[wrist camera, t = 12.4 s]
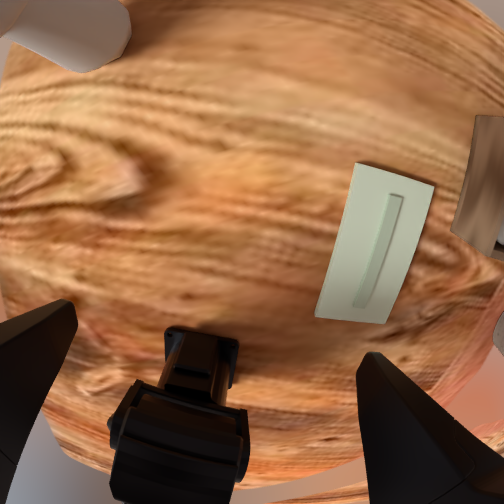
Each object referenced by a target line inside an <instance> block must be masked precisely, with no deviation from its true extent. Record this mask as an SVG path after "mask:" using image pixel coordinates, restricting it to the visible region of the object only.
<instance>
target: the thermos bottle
mask: <svg viewBox="0 0 504 504" xmlns="http://www.w3.org/2000/svg"><path fill="white" fill-rule="evenodd" d="M493 342H494V344H495V346H496V347H497V348H498V349H499V351H500V352H501V353H502V355H503V356H504V312H503V313H502V315H501V316H500V318H499V320H498V322H497V324H496V326H495V329H494V332H493Z"/></svg>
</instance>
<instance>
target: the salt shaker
mask: <svg viewBox="0 0 504 504" xmlns="http://www.w3.org/2000/svg"><path fill="white" fill-rule="evenodd" d="M2 36H3V37H5V38H8V39H10V40H12V41H14V42H16V43H18V44H20V45H22V46H24V47H26V48H28V49H30V50H31V51H33V52H35V53H37V54H39V55H41V56H43V57H45V58H47V59H48V60H50V61H52V62H54V63H56V64H58V65H59V66H61V67H63V68H65V69H67V70H70V71H74V72H78V73H86V72H89V71H92V70H96V69H99V68H101V67H102V66H104V65H106V64H107V63H109V62H111V61H113V60H115V59H117V58H119V57H121V55H122V53H123V51H124V49H125V47H126V45H127V44H128V42H129V40H130V38H131V36H132V31H131V23H130V18H129V12H128V10H127V9H126V8H125V7H124V6H123V5H122V4H121V3H120V2H119V1H118V0H0V38H1V37H2Z"/></svg>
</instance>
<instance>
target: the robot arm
mask: <svg viewBox="0 0 504 504" xmlns="http://www.w3.org/2000/svg"><path fill="white" fill-rule="evenodd" d="M77 328H78V320H77V316H76V311H75V306H74V304H73V302H72V301H69V300H66V299H59V300H57V301H54V302H52V303H49V304H47V305H44V306H42V307H39V308H36V309H34V310H31V311H29V312H26V313H24V314H22V315H19V316H17V317H14V318H12V319H9V320H7V321H4V322H2V323H0V504H5V503H6V500H7V496H8V492H9V489H10V486H11V483H12V480H13V477H14V474H15V471H16V468H17V466H16V465H18V462H19V459H20V456H21V454H22V451H23V449H24V446H25V444H26V441H27V439H28V436H29V434H30V431H31V429H32V427H33V425H34V422H35V420H36V418H37V415H38V413H39V411H40V409H41V407H42V405H43V403H44V400H45V398H46V396H47V394H48V392H49V390H50V388H51V386H52V384H53V382H54V380H55V378H56V376H57V374H58V372H59V370H60V368H61V366H62V364H63V362H64V359H65V357H66V354H67V352H68V350H69V347H70V345H71V343H72V340H73V338H74V336H75V333H76V331H77ZM169 333H171V334H169ZM164 340H165V363H166V364H165V366H164V369H163V372H162V374H161V377H160V380H159V383H158V385H157V387H155V386H152V385H149V384H146V383H144V381H141V380H138V379H137V380H136V381H135V383H134V385H133V386H132V385H131V387H130V388H129V390H128V392H127V393H126V395H125V396H124V398H123V400H122V401H121V403H120V405H119V406H118V408H117V410H116V411H115V412H114V413H113V414H112V415H111V417H110V418H109V419H108V421H107V426H108V428H109V430H110V447H111V448H112V449H114V450H116V452H115V456H114V461H113V466H112V471H111V479H110V482H109V484H110V488H111V492H112V495H113V497H114V499H116V500H118V501H121V502H122V504H229V502H230V499H231V495H232V492H233V488H234V484H235V482H237V483H239V482H241V481H242V479H243V478H244V476H245V473H246V470H247V467H248V462H249V457H250V435H249V425H248V415H247V410H245V409H235V408H231V407H226V406H225V405H226V397H227V390H228V389H230V388H231V387H232V382H233V376H234V371H235V365H236V360H237V354H238V349H239V342H238V341H237V340H235V339H229V338H223V337H217V336H211V335H206V334H200V333H195V332H190V331H184V330H179V329H175V328H167V329H166V330H165V333H164ZM232 344H234V345H235V346H232ZM356 387H357V402H358V418H359V425H360V432H361V438H362V445H363V451H364V458H365V465H366V473H367V482H368V491H369V501H370V504H504V458H503V457H502V456H501V455H499V454H498V453H497V452H495V451H494V450H493V449H491V448H490V447H488V446H487V445H486V444H484V443H483V442H482V441H481V440H479V439H478V438H477V437H475V436H474V435H473V434H472V433H471V432H469V431H468V430H467V429H466V428H464V426H462V425H461V424H460V423H459V422H458V421H457V420H454V417H452V416H451V415H450V414H449V413H448V412H447V411H446V410H445V409H443V408H442V407H441V406H440V405H439V404H438V403H437V402H436V401H435V400H433V399H432V398H431V397H430V396H429V395H428V394H427V393H426V392H424V391H423V390H422V389H421V388H420V387H419V386H418V385H417V384H415V383H414V382H413V381H412V380H411V379H410V378H409V377H407V376H406V375H405V374H404V373H403V372H402V371H401V370H400V369H398V368H397V367H396V366H395V365H394V364H393V363H392V362H390V361H389V360H388V359H387V358H386V357H385V356H384V355H383V354H381V353H380V352H368V353H366V355H365V356H364V358H363V360H362V362H361V364H360V366H359V368H358V370H357V372H356Z"/></svg>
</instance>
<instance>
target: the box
mask: <svg viewBox="0 0 504 504" xmlns="http://www.w3.org/2000/svg"><path fill="white" fill-rule="evenodd" d="M450 231H451V232H453V233H454V234H455V235H457V236H458V237H460V238H461V239H463V240H464V241H466V242H467V243H468V244H470V245H471V246H473V247H474V248H475V249H477V250H478V251H479V252H481V253H482V254H483V255H485V256H487V257H491V258H494V259H498V260H501V261H504V117H497V116H482V115H476V118H475V126H474V133H473V139H472V145H471V151H470V156H469V161H468V166H467V171H466V175H465V179H464V183H463V188H462V192H461V195H460V199H459V203H458V206H457V210H456V213H455V217H454V220H453V223H452V226H451V229H450Z"/></svg>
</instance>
